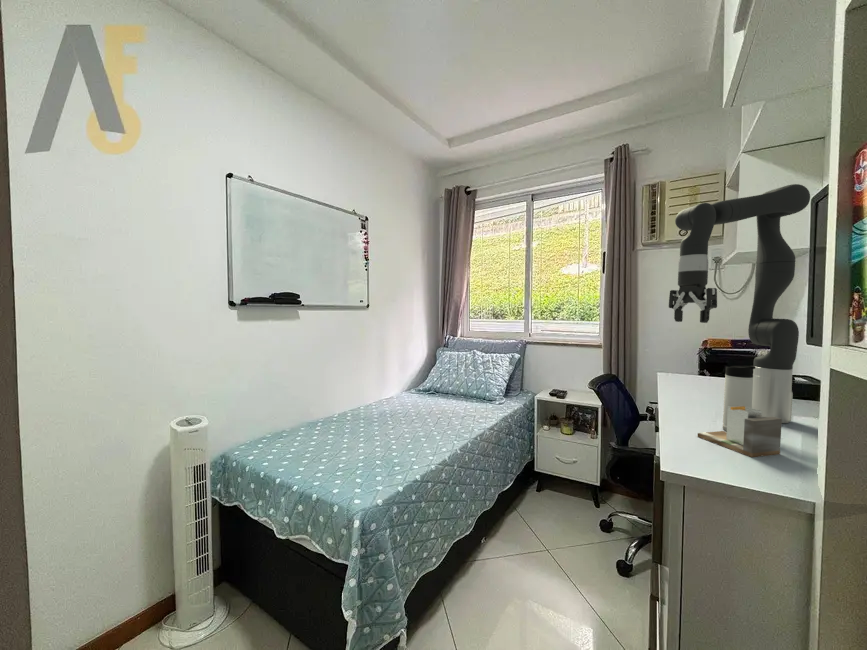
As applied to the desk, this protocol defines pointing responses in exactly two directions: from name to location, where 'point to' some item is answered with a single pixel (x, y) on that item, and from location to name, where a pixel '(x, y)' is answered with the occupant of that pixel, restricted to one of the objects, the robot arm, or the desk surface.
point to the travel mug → (737, 388)
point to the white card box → (739, 422)
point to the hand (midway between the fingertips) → (690, 322)
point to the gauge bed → (752, 437)
